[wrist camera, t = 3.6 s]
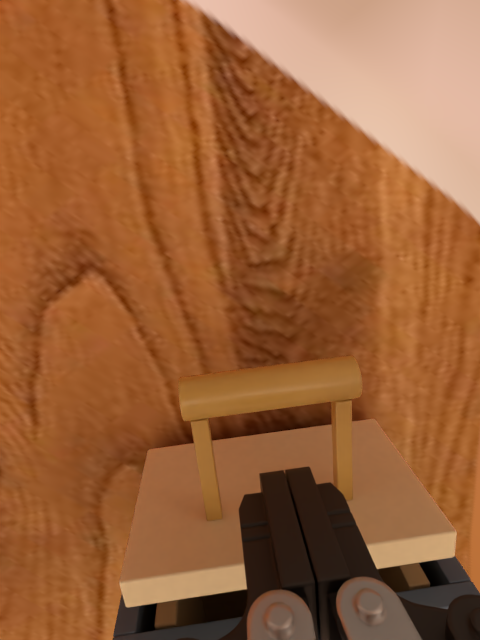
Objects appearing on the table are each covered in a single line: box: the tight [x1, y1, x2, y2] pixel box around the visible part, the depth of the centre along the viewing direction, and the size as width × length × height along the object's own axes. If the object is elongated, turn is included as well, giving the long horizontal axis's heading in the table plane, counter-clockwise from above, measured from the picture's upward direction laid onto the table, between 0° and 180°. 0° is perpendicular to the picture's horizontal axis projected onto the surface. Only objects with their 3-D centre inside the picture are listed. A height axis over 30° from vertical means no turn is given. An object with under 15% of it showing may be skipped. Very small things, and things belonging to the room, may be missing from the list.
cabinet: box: [113, 556, 480, 640], centre depth 20 cm, size 15×13×9 cm
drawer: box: [119, 355, 457, 630], centre depth 18 cm, size 19×11×7 cm, turn 6°
